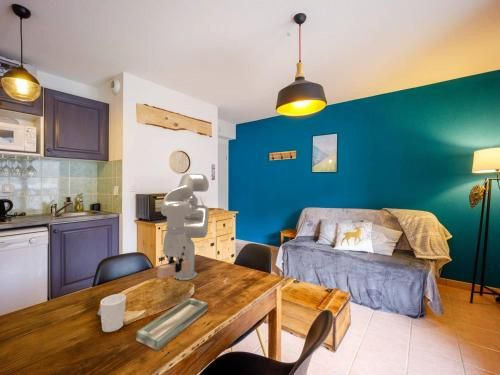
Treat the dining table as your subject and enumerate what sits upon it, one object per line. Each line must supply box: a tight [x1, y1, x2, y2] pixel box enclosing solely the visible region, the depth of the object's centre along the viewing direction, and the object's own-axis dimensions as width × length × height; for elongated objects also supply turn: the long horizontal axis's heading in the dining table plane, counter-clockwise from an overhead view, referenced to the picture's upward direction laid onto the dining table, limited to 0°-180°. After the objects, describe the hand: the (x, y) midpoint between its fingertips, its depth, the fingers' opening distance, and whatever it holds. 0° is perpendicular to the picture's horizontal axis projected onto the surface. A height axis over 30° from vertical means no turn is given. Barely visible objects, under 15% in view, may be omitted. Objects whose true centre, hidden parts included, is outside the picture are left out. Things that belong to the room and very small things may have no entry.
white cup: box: [100, 293, 127, 333], centre depth 81 cm, size 8×8×10 cm
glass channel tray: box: [135, 297, 209, 352], centre depth 84 cm, size 10×26×3 cm, turn 154°
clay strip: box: [156, 260, 190, 279], centre depth 101 cm, size 4×16×4 cm, turn 154°
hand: (174, 270), depth 101 cm, fingers closed on clay strip, 3 cm apart
